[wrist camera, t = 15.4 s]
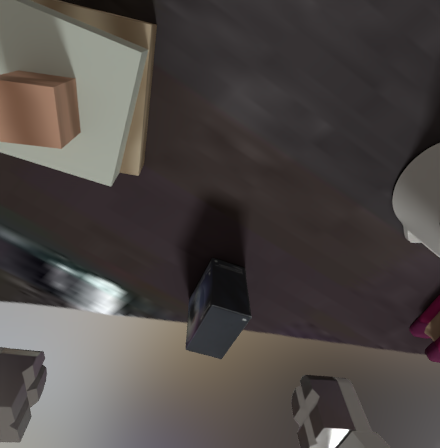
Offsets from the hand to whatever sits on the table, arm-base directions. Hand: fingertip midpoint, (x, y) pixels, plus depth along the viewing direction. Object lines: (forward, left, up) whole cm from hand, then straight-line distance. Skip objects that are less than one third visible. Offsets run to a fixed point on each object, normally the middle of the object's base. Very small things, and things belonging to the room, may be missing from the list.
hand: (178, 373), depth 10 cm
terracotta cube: (+14, 0, -26) cm, 30 cm away
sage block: (+14, 0, -30) cm, 33 cm away
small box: (-8, +27, -34) cm, 44 cm away
